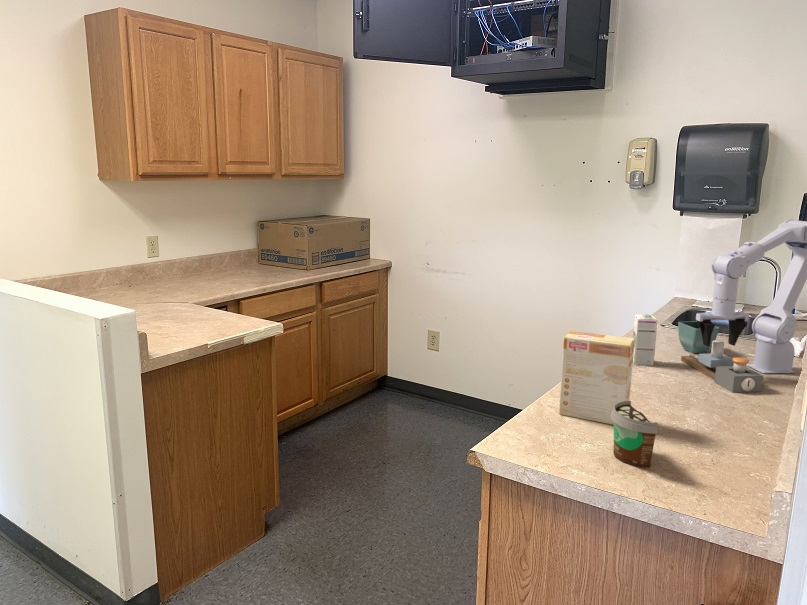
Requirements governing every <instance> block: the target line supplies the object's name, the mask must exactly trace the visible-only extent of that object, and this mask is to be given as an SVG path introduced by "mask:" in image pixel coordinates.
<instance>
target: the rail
mask: <svg viewBox="0 0 807 605" xmlns="http://www.w3.org/2000/svg"><path fill="white" fill-rule="evenodd" d="M698 358H699V355H698V354H696V353H692V352H689V355H681V358H680V361H681V362H682V363H684V364H686V365H688V366H690V367H691V368H693V369H695V370H697V371H698V372H700V373H702V374H704V375H705V376H707V377H709V378H711V380H714V381H715V373H716V368H710V367H708V366H706V365H704V364H703V363H701V362H699V361H698Z"/></svg>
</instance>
